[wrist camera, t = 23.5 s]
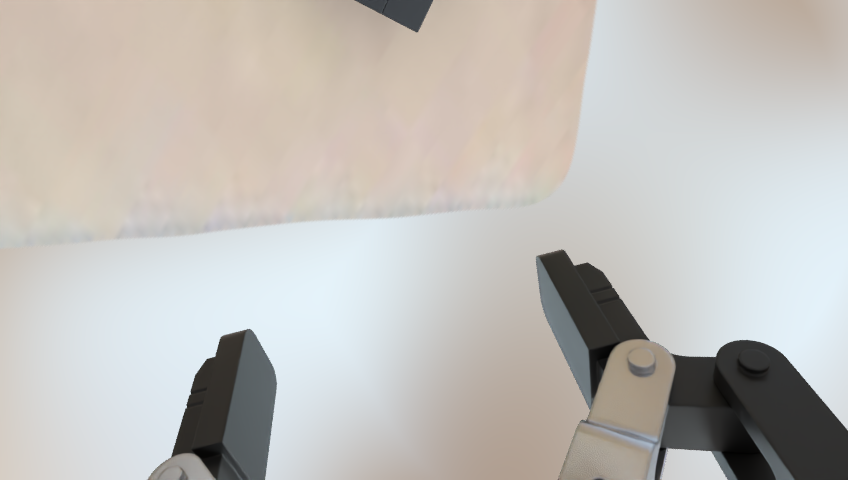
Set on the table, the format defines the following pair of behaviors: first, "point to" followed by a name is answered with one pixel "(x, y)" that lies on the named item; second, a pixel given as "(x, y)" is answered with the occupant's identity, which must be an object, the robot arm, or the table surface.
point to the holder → (401, 10)
